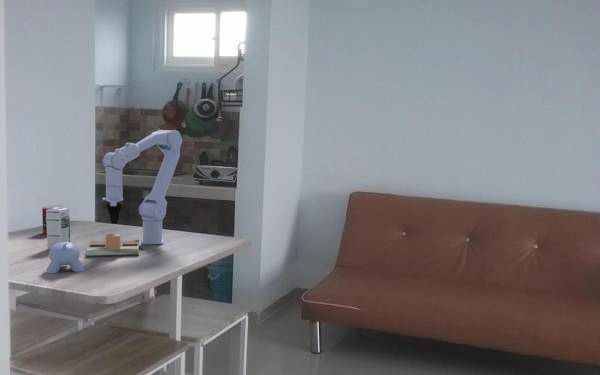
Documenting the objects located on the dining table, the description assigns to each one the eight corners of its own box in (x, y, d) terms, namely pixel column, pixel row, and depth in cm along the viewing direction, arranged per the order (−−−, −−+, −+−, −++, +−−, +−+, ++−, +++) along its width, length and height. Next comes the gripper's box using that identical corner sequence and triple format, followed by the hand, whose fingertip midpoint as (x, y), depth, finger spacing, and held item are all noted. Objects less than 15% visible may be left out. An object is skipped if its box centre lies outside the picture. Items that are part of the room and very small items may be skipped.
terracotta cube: (106, 246, 210) (106, 234, 210) (120, 246, 211) (120, 233, 211) (106, 249, 206) (105, 236, 205) (119, 249, 207) (119, 236, 207)
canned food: (38, 233, 244) (38, 206, 242) (52, 230, 251) (51, 204, 250) (54, 235, 241) (54, 208, 240) (67, 232, 249) (67, 205, 248)
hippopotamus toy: (82, 262, 197) (82, 233, 196) (84, 273, 184) (84, 242, 183) (47, 264, 193) (46, 235, 192) (46, 275, 180) (45, 244, 179)
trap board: (90, 247, 220) (90, 240, 220) (138, 246, 225) (138, 239, 224) (86, 257, 205) (86, 249, 205) (138, 255, 209) (138, 248, 209)
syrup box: (61, 250, 215) (60, 209, 213) (46, 249, 216) (45, 208, 214) (70, 247, 220) (70, 207, 219) (56, 246, 221) (55, 206, 220)
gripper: (103, 183, 223) (104, 220, 224) (101, 188, 209) (101, 226, 210) (123, 183, 224) (123, 220, 226) (122, 188, 210) (122, 226, 212)
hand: (114, 223), depth 218 cm, fingers closed
